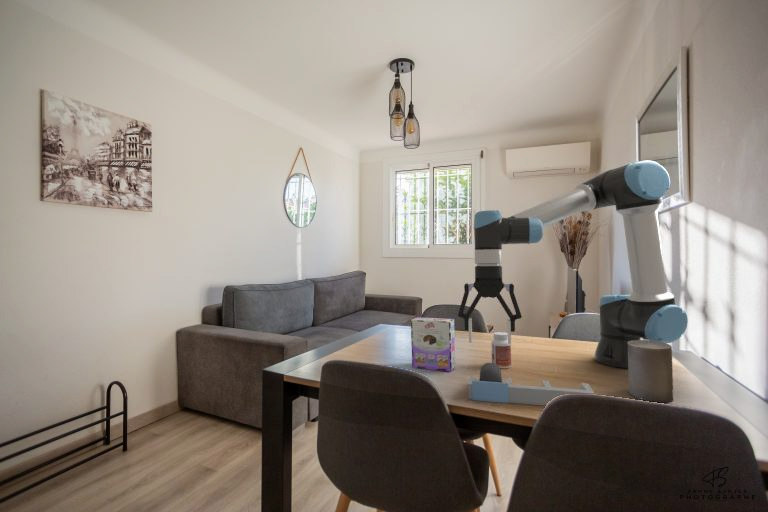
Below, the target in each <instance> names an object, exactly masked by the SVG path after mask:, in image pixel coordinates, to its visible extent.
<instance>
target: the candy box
mask: <svg viewBox="0 0 768 512" xmlns="http://www.w3.org/2000/svg"><path fill="white" fill-rule="evenodd" d="M410 334H411V335H410V336H411V338H410V340H411V365H412V366H411V368H413V369H414V368H415V369H422V370H424V369H425V370H431V371H432V370H433V371H443V372H452V371H453V370H454V369H455V368H456V341H455V339H456V338H455V337H456V336H455V335H456V333H455V319H454V318H438V317H421V316H418V317H414V318H412V319H411V320H410Z"/></svg>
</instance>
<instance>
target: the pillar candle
mask: <svg viewBox="0 0 768 512" xmlns="http://www.w3.org/2000/svg"><path fill="white" fill-rule="evenodd" d="M672 347H673V346H672V345H671V344H670V343H663V342H658V341H650V339H649V340H647V339H640V340H634V341H633V340H632V341H629V342H628V368H627V370H628V375H627V376H628V393H629V394H630V395H632V397H634V396H635V397H634V398H636V397H637V398H636V399H639V400H642V401H646V400H647V401H646V402H651V401H655V403H669V402H673V401H674V382H673V381H674V379H673V371H674V370H673V348H672ZM640 398H642V399H640Z"/></svg>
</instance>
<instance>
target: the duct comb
mask: <svg viewBox="0 0 768 512" xmlns="http://www.w3.org/2000/svg"><path fill="white" fill-rule="evenodd" d="M504 380H505V381H504V382H502V383H499V382H486V381H479V380H476V375H469V379H468V400H472V401H478V402H479V401H482V402H492V403H493V402H494V403H503V404H509V403H511V404H519V405H520V404H523V405H531V406H533V405H534V406H545V405H546V404H547V403H548V402H549V401H551V400H552V399H553V398H555V397H557V396H560V395H565V394H595V393H596V392H595V391H594V390H593V389H592V388H591V387H592V386H590V384H589V383H585V382H582V383H581V389H577V388H565V387H563V388H562V387H552V386H551V384H550V381H549V380H542V386H539V385H538V386H537V385H536V386H534V385H522V384H513V383H512V378H511V377H505V379H504ZM595 395H596V394H595Z"/></svg>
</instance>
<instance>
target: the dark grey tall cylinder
mask: <svg viewBox="0 0 768 512" xmlns="http://www.w3.org/2000/svg"><path fill="white" fill-rule="evenodd" d="M478 381H486V382H499V383H503V379H502V370H501V368H499V367H498V366H497V365H496V364H494V363H492V362H487V363H484V364H483V365H482V366H481V368H480V370H479V380H478Z"/></svg>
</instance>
